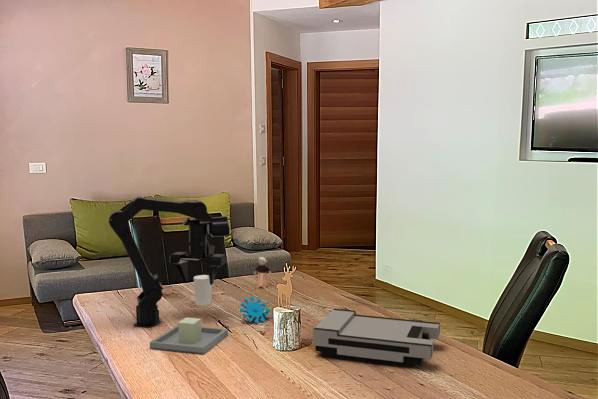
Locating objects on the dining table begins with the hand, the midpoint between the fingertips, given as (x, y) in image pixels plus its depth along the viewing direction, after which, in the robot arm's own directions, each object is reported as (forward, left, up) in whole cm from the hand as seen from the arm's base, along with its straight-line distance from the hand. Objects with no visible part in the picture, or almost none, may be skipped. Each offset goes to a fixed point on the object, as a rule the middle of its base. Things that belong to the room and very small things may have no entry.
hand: (198, 283), depth 195 cm
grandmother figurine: (+6, +45, -12) cm, 47 cm away
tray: (+8, -21, -12) cm, 26 cm away
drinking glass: (-7, +17, -12) cm, 22 cm away
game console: (+63, -14, -12) cm, 65 cm away
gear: (+19, +3, -12) cm, 23 cm away
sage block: (+8, -21, -12) cm, 25 cm away
